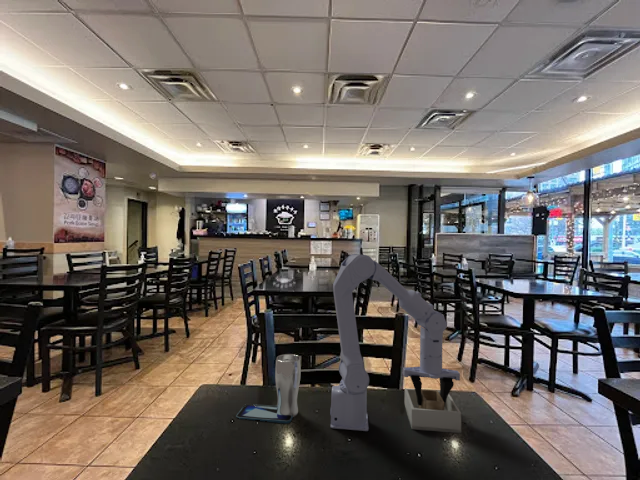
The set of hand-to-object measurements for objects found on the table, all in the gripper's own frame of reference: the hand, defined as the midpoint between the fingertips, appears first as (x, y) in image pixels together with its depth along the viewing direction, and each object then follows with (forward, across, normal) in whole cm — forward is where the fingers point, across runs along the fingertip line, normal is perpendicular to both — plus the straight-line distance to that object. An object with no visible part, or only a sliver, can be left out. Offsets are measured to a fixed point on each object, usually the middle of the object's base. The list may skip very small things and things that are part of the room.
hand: (430, 404), depth 85 cm
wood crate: (+3, 0, 0) cm, 3 cm away
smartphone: (+4, -44, -4) cm, 45 cm away
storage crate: (+4, 0, 0) cm, 4 cm away
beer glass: (+4, -39, -3) cm, 39 cm away
